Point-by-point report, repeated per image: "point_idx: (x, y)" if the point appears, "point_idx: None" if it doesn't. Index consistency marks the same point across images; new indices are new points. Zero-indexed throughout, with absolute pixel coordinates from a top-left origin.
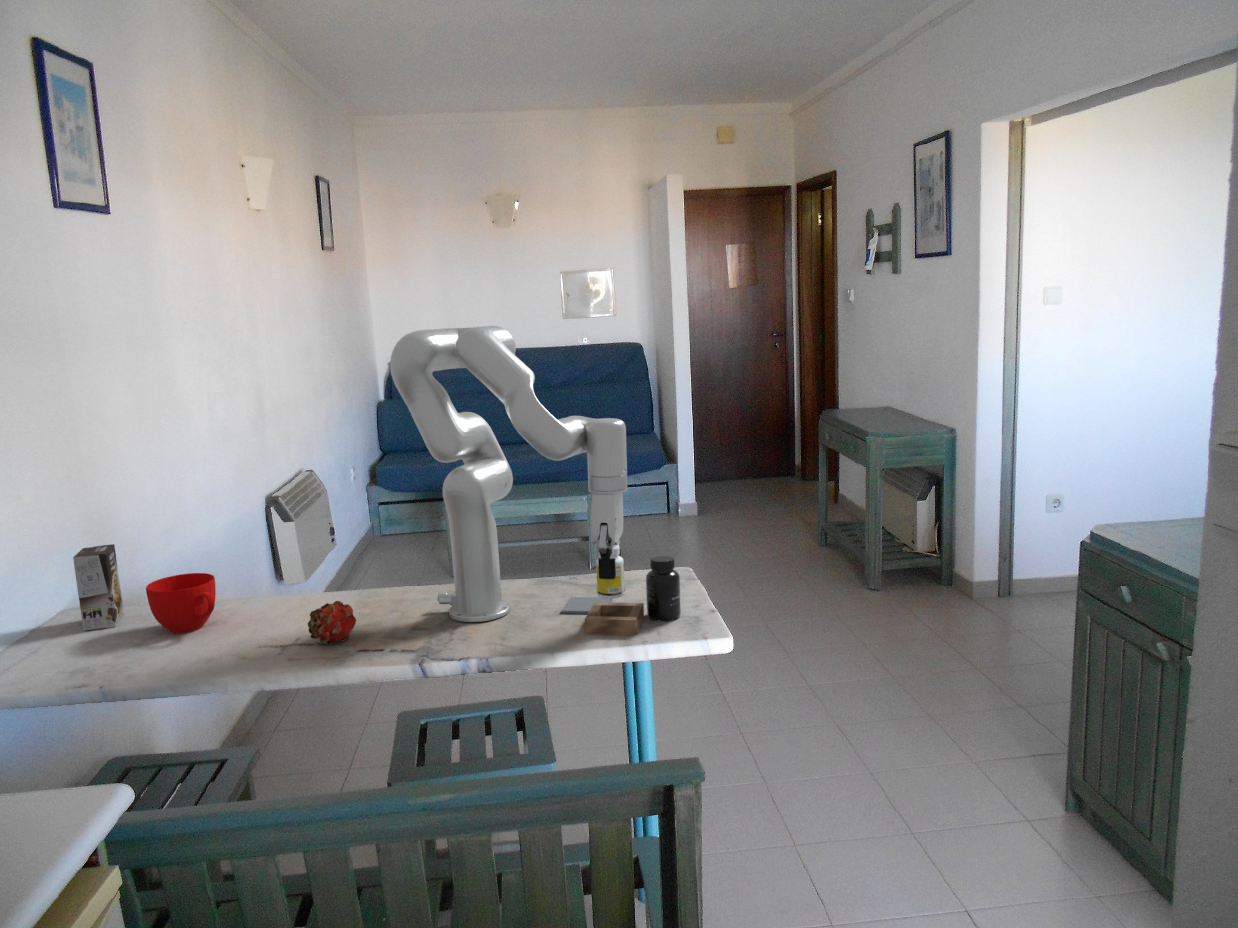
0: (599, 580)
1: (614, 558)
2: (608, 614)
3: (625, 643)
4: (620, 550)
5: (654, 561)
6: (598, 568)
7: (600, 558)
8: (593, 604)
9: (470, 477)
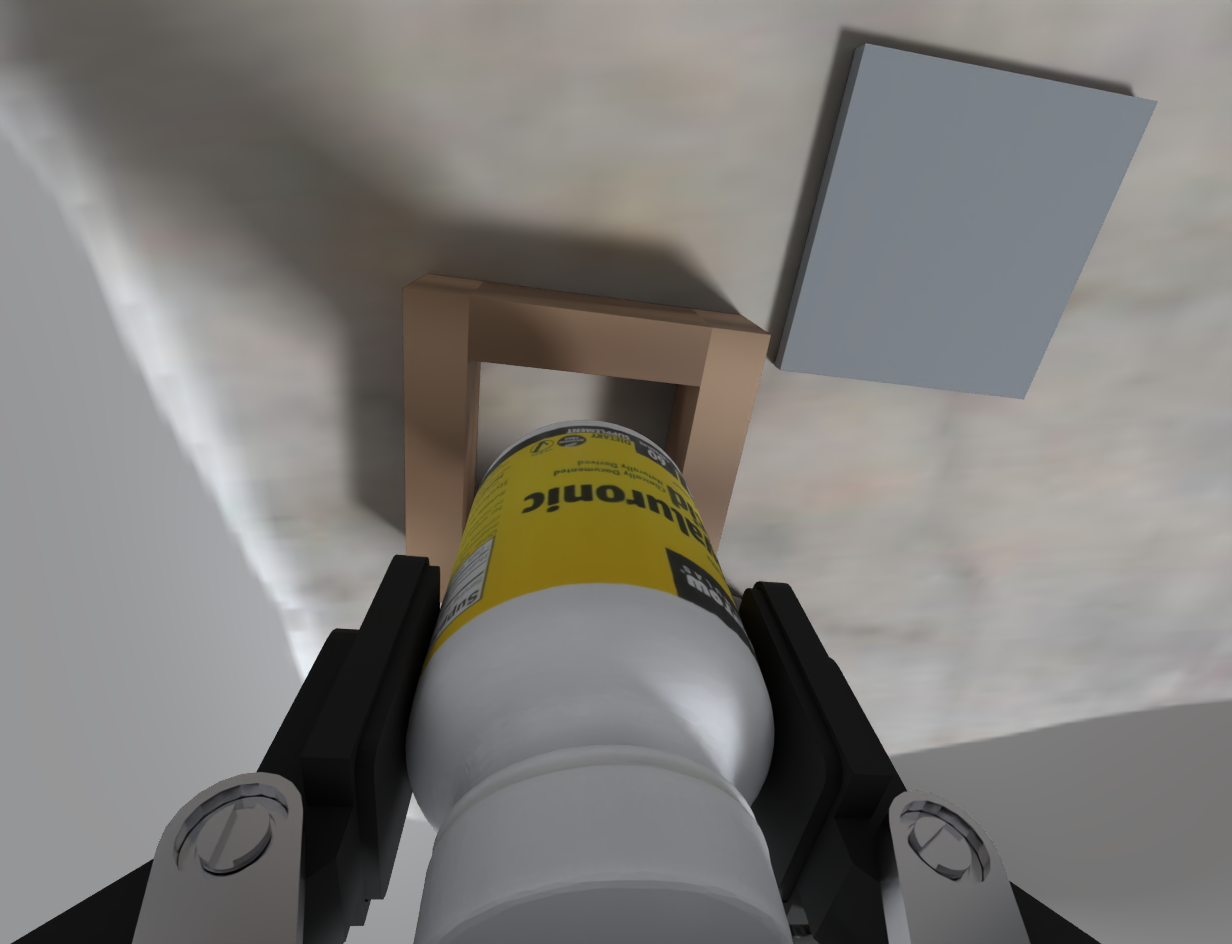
0: (486, 518)
1: (356, 919)
2: (680, 408)
3: (299, 508)
4: (787, 918)
5: None
6: (472, 596)
7: (200, 820)
8: (930, 291)
9: None
